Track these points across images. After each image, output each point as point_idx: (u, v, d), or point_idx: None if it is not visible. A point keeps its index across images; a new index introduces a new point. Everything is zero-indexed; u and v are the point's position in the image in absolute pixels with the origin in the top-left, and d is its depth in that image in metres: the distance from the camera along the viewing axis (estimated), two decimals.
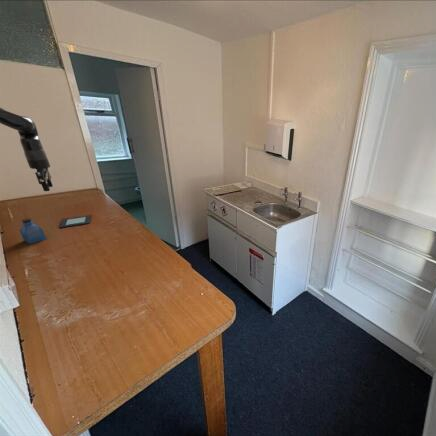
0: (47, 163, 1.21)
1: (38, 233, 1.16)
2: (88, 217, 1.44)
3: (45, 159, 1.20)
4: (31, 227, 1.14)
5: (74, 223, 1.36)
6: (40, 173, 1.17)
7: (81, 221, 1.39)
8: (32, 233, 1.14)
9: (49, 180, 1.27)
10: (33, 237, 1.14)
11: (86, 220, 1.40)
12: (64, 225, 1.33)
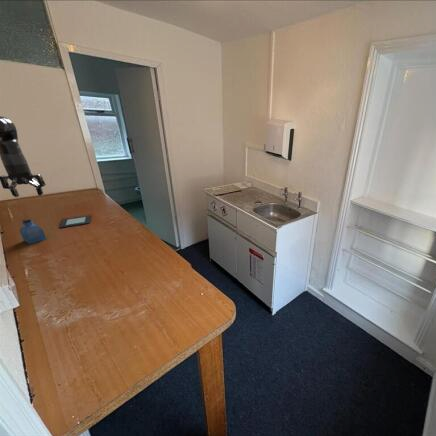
0: None
1: (38, 233, 1.16)
2: (88, 217, 1.44)
3: None
4: (31, 227, 1.14)
5: (74, 223, 1.36)
6: (40, 175, 1.14)
7: (81, 221, 1.39)
8: (32, 233, 1.14)
9: (15, 189, 1.12)
10: (33, 237, 1.14)
11: (86, 220, 1.40)
12: (64, 225, 1.33)
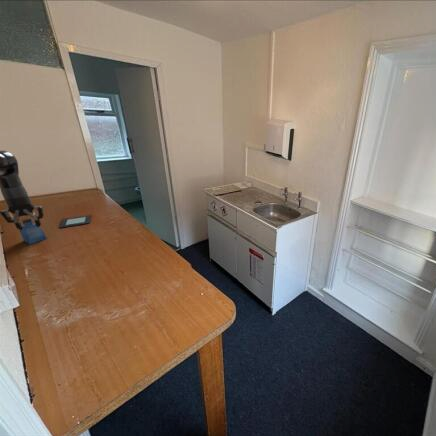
0: None
1: (38, 233, 1.16)
2: (88, 217, 1.44)
3: None
4: (31, 227, 1.14)
5: (74, 223, 1.36)
6: (41, 207, 1.15)
7: (81, 221, 1.39)
8: (32, 233, 1.14)
9: (19, 221, 1.12)
10: (33, 237, 1.14)
11: (86, 220, 1.40)
12: (64, 225, 1.33)
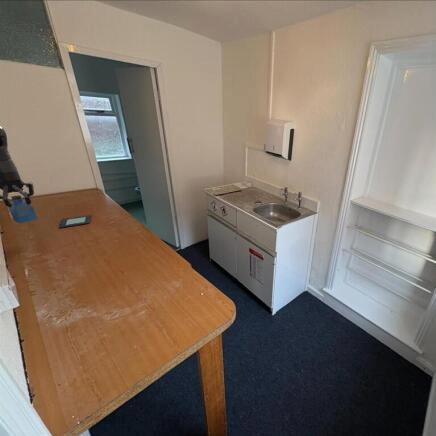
0: None
1: (28, 211, 1.11)
2: (88, 217, 1.44)
3: None
4: (21, 204, 1.09)
5: (74, 223, 1.36)
6: (32, 184, 1.10)
7: (81, 221, 1.39)
8: (22, 211, 1.09)
9: (8, 198, 1.08)
10: (23, 215, 1.10)
11: (86, 220, 1.40)
12: (64, 225, 1.33)
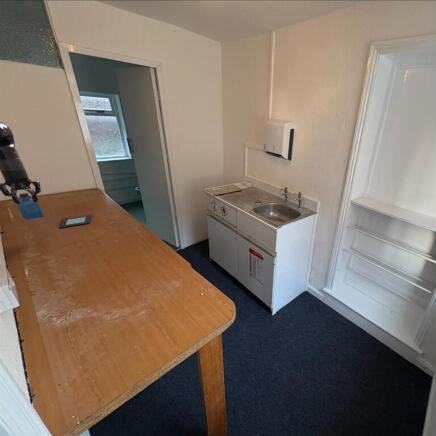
0: (6, 175, 1.04)
1: None
2: (88, 217, 1.44)
3: (3, 170, 1.03)
4: None
5: (74, 223, 1.36)
6: None
7: (81, 221, 1.39)
8: None
9: None
10: None
11: (86, 220, 1.40)
12: (64, 225, 1.33)
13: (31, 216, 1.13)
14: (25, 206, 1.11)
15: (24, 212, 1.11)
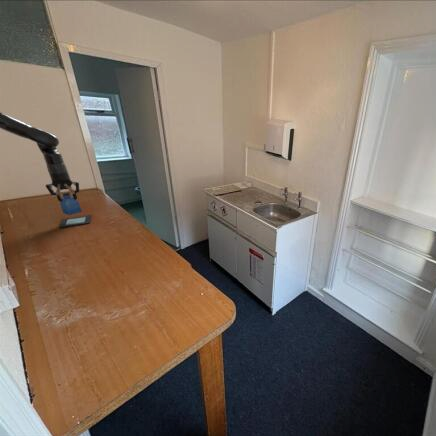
0: (55, 177, 1.25)
1: None
2: (88, 217, 1.44)
3: (53, 173, 1.24)
4: None
5: (74, 223, 1.36)
6: None
7: (81, 221, 1.39)
8: None
9: (72, 194, 1.33)
10: None
11: (86, 220, 1.40)
12: (64, 225, 1.33)
13: (72, 212, 1.34)
14: (68, 203, 1.32)
15: (67, 208, 1.32)
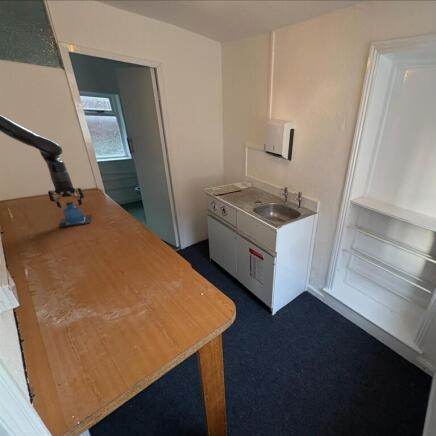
0: (58, 185, 1.27)
1: None
2: (88, 217, 1.44)
3: (56, 181, 1.26)
4: None
5: (74, 223, 1.36)
6: (48, 192, 1.27)
7: (81, 221, 1.39)
8: None
9: None
10: None
11: (86, 220, 1.40)
12: (64, 225, 1.33)
13: (76, 220, 1.36)
14: (72, 212, 1.34)
15: (71, 217, 1.34)
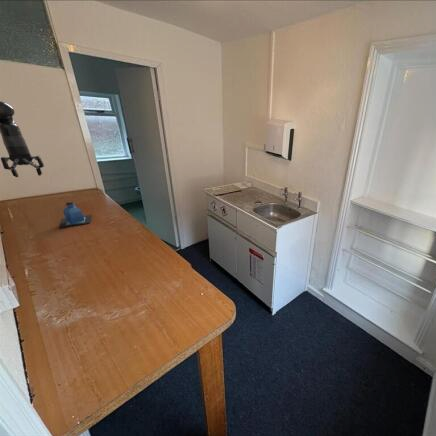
0: (11, 150, 1.16)
1: None
2: (88, 217, 1.44)
3: (9, 146, 1.15)
4: None
5: (74, 223, 1.36)
6: None
7: (81, 221, 1.39)
8: None
9: (36, 169, 1.25)
10: None
11: (86, 220, 1.40)
12: (64, 225, 1.33)
13: (76, 220, 1.36)
14: (72, 212, 1.34)
15: (71, 217, 1.34)
